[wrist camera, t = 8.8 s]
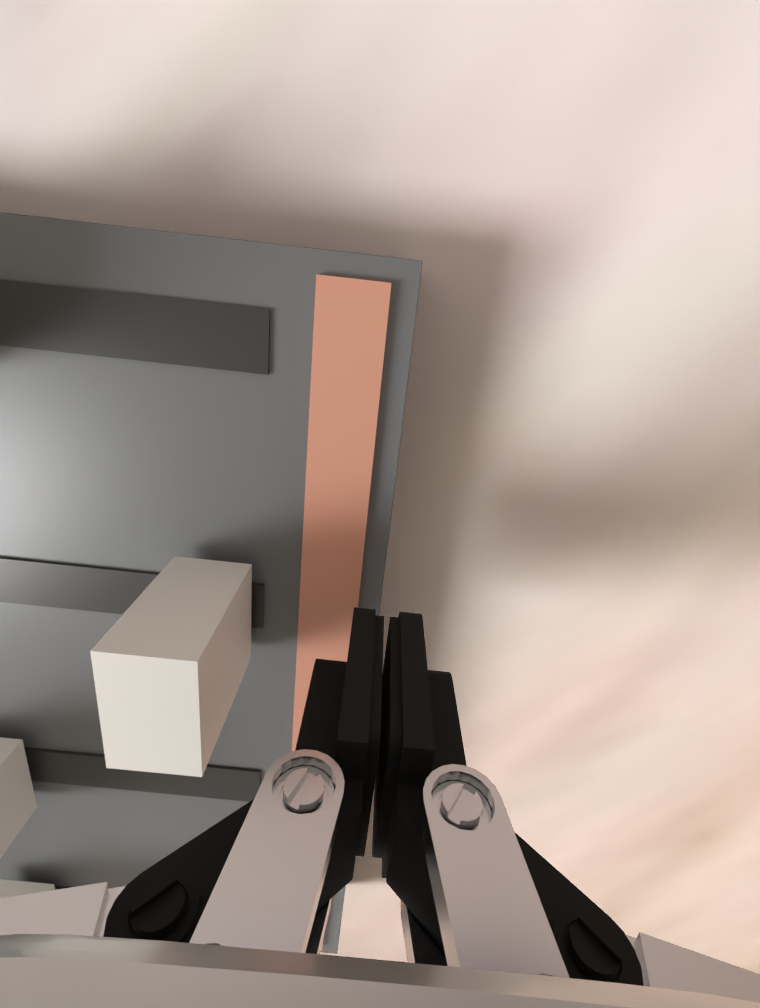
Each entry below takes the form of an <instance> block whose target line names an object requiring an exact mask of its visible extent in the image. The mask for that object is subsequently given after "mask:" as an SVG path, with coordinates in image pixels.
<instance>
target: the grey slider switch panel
mask: <svg viewBox="0 0 760 1008" xmlns="http://www.w3.org/2000/svg"><path fill="white" fill-rule="evenodd" d="M421 268H422V261H419V260H410V259H401V258H393V257H384V256H375V255H367V254H358V253H349V252H341V251H332V250H323V249H314V248H306V247H297V246H288V245H280V244H271V243H262V242H253V241H245V240H236V239H227V238H219V237H210V236H201V235H192V234H184V233H175V232H166V231H158V230H149V229H140V228H132V227H123V226H114V225H105V224H97V223H88V222H79V221H71V220H62V219H53V218H44V217H36V216H27V215H18V214H10V213H1V212H0V898H5V897H12V896H18V895H25V894H31V893H38V892H44V891H51V890H57V889H64V888H70V887H77V886H83V885H90V884H97V883H103V882H107V883H108V889H109V888H115V887H122V886H126V885H127V884H128V883H130V882H131V881H132V880H133V879H134V878H136V877H137V876H138V875H139V874H141V873H142V872H143V871H145V870H146V869H148V868H149V867H151V866H152V865H154V864H156V863H157V862H159V861H160V860H162V859H163V858H165V857H166V856H168V855H169V854H171V853H172V852H174V851H175V850H177V849H178V848H180V847H181V846H183V845H184V844H186V843H187V842H189V841H191V840H192V839H194V838H195V837H197V836H198V835H200V834H201V833H203V832H204V831H206V830H207V829H209V828H210V827H212V826H213V825H215V824H216V823H218V822H219V821H221V820H222V819H224V818H226V817H227V816H229V815H230V814H232V813H233V812H235V811H236V810H238V809H239V808H241V807H242V806H244V805H245V804H247V803H248V802H250V801H251V800H253V799H254V798H255V796H256V794H257V792H258V790H259V787H260V785H261V783H262V781H263V778H264V776H265V774H266V772H267V771H268V769H269V768H270V766H271V765H272V764H273V763H274V762H275V761H276V760H277V759H279V758H280V757H281V756H283V755H285V754H287V753H290V752H292V751H295V749H296V745H297V740H298V736H299V731H300V726H301V722H302V717H303V713H304V708H305V704H306V699H307V695H308V690H309V686H310V681H311V677H312V672H313V668H314V663H315V660H316V659H325V660H335V661H344V662H347V657H348V650H349V642H350V634H351V626H352V619H353V611H354V607H358V608H367V609H376V615H377V616H379V609H380V601H381V593H382V585H383V576H384V568H385V560H386V552H387V544H388V536H389V528H390V519H391V511H392V503H393V495H394V487H395V479H396V471H397V463H398V454H399V446H400V438H401V430H402V422H403V414H404V406H405V398H406V389H407V381H408V373H409V365H410V357H411V349H412V341H413V333H414V324H415V316H416V308H417V300H418V292H419V284H420V276H421ZM174 556H178V557H187V558H197V559H207V560H216V561H226V562H236V563H245V564H252V600H251V659H250V661H249V664H248V666H247V669H246V671H245V674H244V676H243V678H242V681H241V683H240V686H239V688H238V691H237V693H236V696H235V698H234V700H233V703H232V705H231V708H230V710H229V713H228V715H227V718H226V720H225V722H224V725H223V727H222V730H221V732H220V735H219V737H218V740H217V742H216V745H215V747H214V749H213V752H212V754H211V757H210V759H209V762H208V764H207V767H206V769H205V771H204V774H203V776H202V777H195V776H184V775H174V774H164V773H153V772H143V771H133V770H122V769H112V768H106V762H105V755H104V747H103V740H102V733H101V726H100V718H99V711H98V704H97V697H96V690H95V682H94V675H93V668H92V661H91V653H90V651H91V649H92V648H93V647H94V646H95V645H96V644H97V643H98V642H99V641H100V639H101V638H102V637H103V636H104V635H105V634H106V633H107V632H108V630H109V629H110V628H111V627H112V626H113V625H114V624H115V623H116V621H117V620H118V619H119V618H120V617H121V616H122V615H123V614H124V612H125V611H126V610H127V609H128V608H129V607H130V606H131V605H132V603H133V602H134V601H135V600H136V599H137V598H138V597H139V596H140V595H141V593H142V592H143V591H144V590H145V589H146V588H147V587H148V586H149V584H150V583H151V582H152V581H153V580H154V579H155V578H156V577H157V575H158V574H159V573H160V572H161V571H162V570H163V569H164V568H165V566H166V565H167V564H168V563H169V562H170V561H171V560H172V559H173V557H174ZM344 893H345V886H344V887H343V888H342V889H341V890H340V891H339V892H338V893H337V894H336V895H334V896H333V897H332V899H331V908H330V912H329V916H328V920H327V925H326V929H325V933H324V937H323V941H322V945H321V950H320V952H324V953H335V954H337V950H338V942H339V934H340V926H341V918H342V910H343V901H344Z"/></svg>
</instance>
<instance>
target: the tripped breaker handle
mask: <svg viewBox="0 0 760 1008" xmlns="http://www.w3.org/2000/svg"><path fill="white" fill-rule="evenodd" d="M251 600H252V564H245V563H236V562H226V561H216V560H207V559H197V558H187V557H178V556H174V557H173V559H172V560H171V561H170V562H169V563H168V564H167V565H166V566H165V568H164V569H163V570H162V571H161V572H160V573H159V574H158V575H157V577H156V578H155V579H154V580H153V581H152V582H151V583H150V584H149V586H148V587H147V588H146V589H145V590H144V591H143V592H142V593H141V595H140V596H139V597H138V598H137V599H136V600H135V601H134V602H133V603H132V605H131V606H130V607H129V608H128V609H127V610H126V611H125V612H124V614H123V615H122V616H121V617H120V618H119V619H118V620H117V621H116V623H115V624H114V625H113V626H112V627H111V628H110V629H109V630H108V632H107V633H106V634H105V635H104V636H103V637H102V638H101V639H100V641H99V642H98V643H97V644H96V645H95V646H94V647H93V648H92V649H91V651H90V653H91V661H92V668H93V675H94V682H95V690H96V697H97V704H98V711H99V718H100V726H101V733H102V740H103V747H104V755H105V762H106V768H112V769H122V770H133V771H143V772H153V773H164V774H174V775H184V776H195V777H202V776H203V774H204V771H205V769H206V767H207V764H208V762H209V759H210V757H211V754H212V752H213V749H214V747H215V745H216V742H217V740H218V737H219V735H220V732H221V730H222V727H223V725H224V722H225V720H226V718H227V715H228V713H229V710H230V708H231V705H232V703H233V700H234V698H235V696H236V693H237V691H238V688H239V686H240V683H241V681H242V678H243V676H244V674H245V671H246V669H247V666H248V664H249V661H250V659H251Z"/></svg>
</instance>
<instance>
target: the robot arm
mask: <svg viewBox="0 0 760 1008" xmlns="http://www.w3.org/2000/svg"><path fill="white" fill-rule="evenodd" d="M383 629H384V616H377V615H376V609H367V608H358V607H354V611H353V619H352V626H351V634H350V642H349V650H348V657H347V662H344V661H335V660H325V659H316V660H315V663H314V668H313V672H312V677H311V681H310V686H309V690H308V695H307V699H306V704H305V708H304V713H303V717H302V722H301V726H300V731H299V736H298V740H297V745H296V749H295V751H292V752H290V753H287V754H285V755H283V756H281V757H280V758H279V759H277V760H276V761H275V762H274V763H273V764H272V765H271V766H270V768H269V769H268V771H267V772H266V774H265V776H264V778H263V781H262V783H261V785H260V787H259V790H258V792H257V794H256V796H255V798H254V799H253V800H251V801H250V802H248V803H247V804H245V805H244V806H242V807H241V808H239V809H238V810H236V811H235V812H233V813H232V814H230V815H229V816H227V817H226V818H224V819H222V820H221V821H219V822H218V823H216V824H215V825H213V826H212V827H210V828H209V829H207V830H206V831H204V832H203V833H201V834H200V835H198V836H197V837H195V838H194V839H192V840H191V841H189V842H187V843H186V844H184V845H183V846H181V847H180V848H178V849H177V850H175V851H174V852H172V853H171V854H169V855H168V856H166V857H165V858H163V859H162V860H160V861H159V862H157V863H156V864H154V865H152V866H151V867H149V868H148V869H146V870H145V871H143V872H142V873H141V874H139V875H138V876H137V877H136V878H134V879H133V880H132V881H131V882H130V883H128V884H127V885H126V886H122V887H115V888H109V889H108V883H107V882H103V883H97V884H90V885H83V886H77V887H70V888H64V889H57V890H51V891H44V892H38V893H31V894H25V895H18V896H12V897H5V898H0V1008H760V974H757V973H754V972H751V971H748V970H746V969H743V968H740V967H737V966H734V965H731V964H729V963H726V962H723V961H720V960H717V959H714V958H711V957H709V956H706V955H703V954H700V953H697V952H694V951H692V950H689V949H686V948H683V947H680V946H677V945H674V944H672V943H669V942H666V941H663V940H660V939H657V938H655V937H652V936H649V935H646V934H643V933H639V935H638V937H637V939H636V938H634V937H631V936H628V935H625V933H624V932H623V931H622V930H621V928H620V927H619V926H618V925H617V924H616V923H615V922H614V921H613V920H612V919H611V918H610V917H609V916H608V915H607V914H606V913H605V912H604V911H602V910H601V909H600V908H599V907H598V906H597V905H596V904H595V903H593V902H592V901H591V900H590V899H589V898H588V897H587V896H586V895H585V894H583V893H582V892H581V891H580V890H579V889H578V888H577V887H576V886H574V885H573V884H572V883H571V882H570V881H569V880H568V879H567V878H565V877H564V876H563V875H562V874H561V873H560V872H559V871H558V870H556V869H555V868H554V867H553V866H552V865H551V864H550V863H549V862H547V861H546V860H545V859H544V858H543V857H542V856H541V855H540V854H538V853H537V852H536V851H535V850H534V849H533V848H532V847H531V846H529V845H528V844H527V843H526V842H525V841H524V840H523V839H522V838H521V837H519V836H518V835H517V834H516V833H515V832H514V830H513V827H512V824H511V822H510V819H509V816H508V814H507V811H506V809H505V806H504V803H503V801H502V798H501V796H500V794H499V792H498V791H497V789H496V787H495V786H494V784H493V783H492V782H491V781H490V780H489V779H488V778H487V777H486V776H485V775H483V774H482V773H480V772H479V771H477V770H475V769H473V768H470V767H467V766H466V760H465V754H464V748H463V742H462V736H461V730H460V724H459V718H458V711H457V705H456V699H455V693H454V687H453V681H452V676H451V674H450V672H441V671H431V670H427V660H426V650H425V639H424V629H423V619H422V614H414V613H405V612H400V613H399V617H398V618H395V617H390V623H389V630H388V637H387V644H386V652H385V659H384V666H383V673H382V665H383ZM374 784H375V791H374ZM373 791H374V818H373V845H372V857H377V858H382V878H386V882H387V884H388V885H389V886H390V887H391V888H392V890H393V891H394V892H395V893H396V894H397V896H398V897H399V898H400V899H401V919H402V926H403V933H404V940H405V947H406V954H407V961H408V963H407V962H396V961H386V960H375V959H364V958H353V957H342V956H331V955H320V950H321V945H322V941H323V937H324V933H325V929H326V925H327V920H328V916H329V912H330V908H331V899H332V897H333V896H334V895H336V894H337V893H338V892H339V891H340V890H341V889H342V888H343V887H344V886H345V885H346V884H347V883H349V882H350V881H351V880H352V878H353V871H354V864H355V856H364V853H365V846H366V839H367V832H368V825H369V818H370V811H371V805H372V798H373Z"/></svg>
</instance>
